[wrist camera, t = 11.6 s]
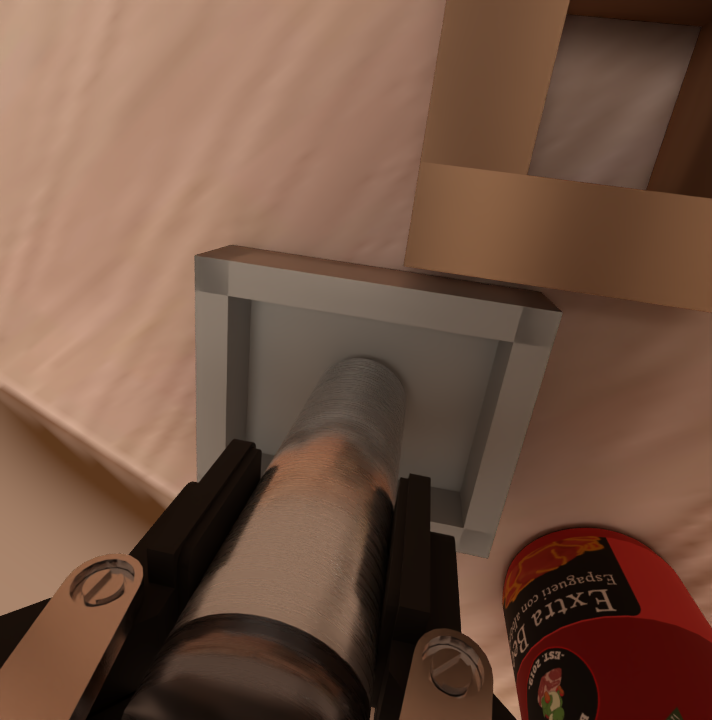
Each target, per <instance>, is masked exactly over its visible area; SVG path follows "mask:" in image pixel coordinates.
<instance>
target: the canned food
mask: <svg viewBox="0 0 712 720" xmlns="http://www.w3.org/2000/svg"><path fill="white" fill-rule="evenodd" d="M502 604H503V610H504V616H505V622H506V628H507V634H508V640H509V646H510V652H511V658H512V664H513V670H514V676H515V682H516V688H517V694H518V700H519V706H520V712H521V718H522V720H712V628H711V626H710V625H709V623H708V622H707V620H706V618H705V617H704V615H703V614H702V612H701V611H700V609H699V608H698V606H697V605H696V603H695V601H694V600H693V598H692V597H691V595H690V594H689V592H688V591H687V589H686V587H685V586H684V584H683V583H682V581H681V580H680V578H679V577H678V575H677V574H676V572H675V571H674V570H673V569H672V568H671V567H670V566H669V565H668V564H667V563H666V562H665V561H664V560H663V559H662V558H660V557H659V556H658V555H657V554H656V553H655V552H653V551H652V550H651V549H650V548H648V547H647V546H645V545H644V544H642V543H641V542H639V541H637V540H636V539H633V538H631V537H629V536H626V535H624V534H621V533H618V532H614V531H609V530H605V529H596V528H575V529H566V530H562V531H557V532H553V533H550V534H548V535H546V536H543V537H541V538H538V539H537V540H535V541H533V542H532V543H530V544H529V545H527V546H526V547H525V548H524V549H523V550H522V551H521V552H520V553H519V554H518V555H517V556H516V557H515V558H514V560H513V562H512V563H511V565H510V566H509V569H508V572H507V575H506V578H505V583H504V588H503V602H502Z"/></svg>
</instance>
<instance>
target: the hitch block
mask: <svg viewBox="0 0 712 720" xmlns="http://www.w3.org/2000/svg"><path fill="white" fill-rule="evenodd" d="M566 14H570V15H581V16H592V17H603V18H614V19H625V20H636V21H647V22H658V23H669V24H680V25H691V26H702V28H701V31H700V34H699V37H698V40H697V43H696V46H695V49H694V51H693V54H692V57H691V60H690V63H689V66H688V69H687V72H686V75H685V78H684V81H683V84H682V87H681V90H680V93H679V96H678V99H677V101H676V104H675V107H674V110H673V113H672V116H671V119H670V122H669V125H668V128H667V131H666V134H665V137H664V140H663V143H662V146H661V148H660V151H659V154H658V157H657V160H656V163H655V166H654V169H653V172H652V175H651V178H650V181H649V184H648V187H647V190H639V189H631V188H624V187H616V186H608V185H600V184H592V183H584V182H576V181H569V180H561V179H553V178H545V177H537V176H529V175H527V173H528V169H529V165H530V161H531V157H532V153H533V149H534V144H535V140H536V136H537V132H538V128H539V124H540V120H541V116H542V112H543V108H544V104H545V100H546V95H547V91H548V87H549V83H550V79H551V75H552V71H553V67H554V63H555V59H556V55H557V51H558V46H559V42H560V38H561V34H562V30H563V26H564V22H565V18H566ZM404 266H406V267H412V268H419V269H426V270H432V271H439V272H445V273H452V274H459V275H465V276H472V277H479V278H485V279H492V280H499V281H505V282H512V283H518V284H525V285H532V286H538V287H545V288H552V289H558V290H565V291H572V292H578V293H585V294H591V295H598V296H605V297H611V298H618V299H625V300H631V301H638V302H645V303H651V304H658V305H664V306H671V307H678V308H684V309H691V310H698V311H704V312H711V313H712V0H446V6H445V12H444V19H443V25H442V31H441V37H440V43H439V49H438V56H437V62H436V68H435V74H434V80H433V87H432V93H431V99H430V105H429V111H428V118H427V124H426V130H425V136H424V142H423V149H422V155H421V161H420V167H419V173H418V179H417V186H416V192H415V198H414V204H413V210H412V217H411V223H410V229H409V235H408V241H407V248H406V254H405V260H404Z"/></svg>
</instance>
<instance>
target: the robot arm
mask: <svg viewBox="0 0 712 720" xmlns="http://www.w3.org/2000/svg"><path fill="white" fill-rule="evenodd" d="M261 459H262V451H261V449H256V444H255V443H254V442H249V441H244V440H239V439H233V440H232V441H231V442H230V444H229V445H228V446H227V447H226V449H225V450H224V451H223V452H222V454H221V455H220V456H219V457H218V459H217V460H216V461H215V462H214V464H213V465H212V466H211V468H210V469H209V470H208V471H207V473H206V474H205V475H204V476H203V478H202V479H201V480H200V481H199V483H198V482H193V481H192V482H190V483H188V484H187V485H186V486H185V487H184V488H183V490H182V491H181V492H180V493H179V494H178V496H177V497H176V498H175V499H174V500H173V502H172V503H171V504H170V505H169V506H168V508H167V509H166V510H165V511H164V512H163V514H162V515H161V516H160V517H159V518H158V520H157V521H156V522H155V524H154V525H153V526H152V527H151V528H150V530H149V531H148V532H147V533H146V534H145V536H144V537H143V538H142V539H141V540H140V541H139V543H138V544H137V545H136V546H135V547H134V549H133V550H132V551H131V552H130V554H129V555H125V554H121V553H119V554H106V555H102V556H98V557H95V558H93V559H91V560H88V561H86V562H84V563H83V564H81V565H80V566H78V567H77V568H76V569H74V570H73V571H72V572H71V573H70V575H69V576H68V577H67V578H66V579H65V580H64V582H63V583H62V584H61V586H60V587H59V589H58V590H57V591H56V593H55V594H54V595H53V597H52V598H49V599H46V600H43V601H41V602H38V603H35V604H33V605H30V606H27V607H24V608H22V609H19V610H16V611H13V612H10V613H8V614H5V615H2V616H0V720H121V718H122V715H123V713H124V711H125V708H126V707H127V705H128V703H129V702H130V700H131V698H132V696H133V695H134V693H135V691H136V690H137V688H138V686H139V685H140V683H141V681H142V679H143V678H144V676H145V674H146V673H147V671H148V669H149V668H150V666H151V664H152V663H153V661H154V659H155V657H156V656H157V654H158V652H159V651H160V649H161V647H162V646H163V644H164V642H165V640H166V639H167V637H168V635H169V634H170V632H171V630H172V629H173V627H174V625H175V624H176V622H177V620H178V618H179V617H180V615H181V613H182V612H183V610H184V608H185V607H186V605H187V603H188V601H189V600H190V598H191V596H192V595H193V593H194V591H195V590H196V588H197V586H198V585H199V583H200V581H201V579H202V578H203V576H204V574H205V573H206V571H207V569H208V568H209V566H210V564H211V562H212V561H213V559H214V557H215V556H216V554H217V552H218V551H219V549H220V547H221V546H222V544H223V542H224V540H225V539H226V537H227V535H228V534H229V532H230V530H231V529H232V527H233V525H234V524H235V522H236V520H237V518H238V517H239V515H240V513H241V512H242V510H243V508H244V507H245V505H246V503H247V501H248V500H249V498H250V496H251V495H252V493H253V491H254V490H255V488H256V486H257V485H258V483H259V481H260V478H261ZM430 515H431V478H430V477H426V476H421V475H416V474H411V473H410V474H409V477H408V479H407V478H402V477H400V482H399V487H398V492H397V497H396V502H395V508H394V514H393V522H392V530H391V539H390V547H389V556H388V564H387V572H386V581H385V589H384V598H383V606H382V614H381V623H380V631H379V640H378V648H377V661H376V669H375V678H374V686H373V695H372V703H371V707H374V708H375V713H374V720H516V718H515V717H514V716H513V715H512V714H511V713H510V712H509V710H508V709H507V708H506V707H505V706H504V705H503V704H502V703H501V701H500V700H499V699H498V698H497V697H496V696H495V695H494V694H493V674H492V668H491V665H490V663H489V661H488V658H487V656H486V655H485V653H484V652H483V651H482V649H481V648H480V647H479V645H477V644H476V643H475V642H474V641H473V640H472V639H470V638H469V637H468V636H466V635H464V634H462V633H461V621H460V606H459V590H458V575H457V560H456V544H455V538H454V536H450V535H446V534H441V533H436V532H431V531H430Z"/></svg>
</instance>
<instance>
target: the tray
mask: <svg viewBox="0 0 712 720" xmlns="http://www.w3.org/2000/svg"><path fill="white" fill-rule="evenodd" d="M562 314H563V312H562V311H561V310H560V309H559V308H557V307H556V306H555V305H554V304H553V303H552V302H551V301H550V300H549V299H548V298H547V297H546V296H545V295H544V294H543V293H542V292H538V291H531V290H525V289H518V288H512V287H505V286H498V285H492V284H485V283H479V282H472V281H465V280H459V279H452V278H446V277H439V276H433V275H426V274H419V273H413V272H406V271H400V270H393V269H386V268H380V267H373V266H367V265H360V264H353V263H347V262H340V261H334V260H327V259H321V258H314V257H307V256H301V255H294V254H288V253H281V252H274V251H268V250H261V249H255V248H248V247H241V246H235V245H229V246H226V247H222V248H219V249H215V250H212V251H208V252H204V253H201V254H197V255H195V348H196V445H197V482H198V483H199V481H200V480H201V479H202V478H203V476H204V475H205V474H206V473H207V471H208V470H209V469H210V468H211V466H212V465H213V464H214V462H215V461H216V460H217V459H218V457H219V456H220V455H221V454H222V452H223V451H224V450H225V449H226V447H227V446H228V445H229V444H230V442H231V441H232V440H233V439H239V440H244V441H249V442H254V443H255V444H256V449H261V451H262V459H261V478H262V476H263V474H264V473H265V471H266V469H267V468H268V466H269V464H270V462H271V461H272V459H273V457H274V456H275V454H276V452H277V451H278V449H279V447H280V446H281V444H282V442H283V440H284V439H285V437H286V435H287V434H288V432H289V430H290V429H291V427H292V425H293V423H294V422H295V420H296V418H297V417H298V415H299V413H300V412H301V410H302V408H303V407H304V405H305V403H306V401H307V400H308V398H309V396H310V395H311V393H312V391H313V390H314V388H315V386H316V384H317V383H318V381H319V379H320V378H321V376H322V375H323V373H324V372H325V371H326V370H327V369H328V368H330V367H331V366H332V365H334V364H336V363H338V362H340V361H343V360H347V359H353V358H362V359H369V360H373V361H375V362H378V363H380V364H382V365H384V366H385V367H387V368H388V369H390V370H391V371H392V372H393V373H394V374H395V375H396V376H397V377H398V379H399V380H400V382H401V384H402V386H403V388H404V390H405V394H406V400H407V406H406V415H405V423H404V432H403V440H402V449H401V457H400V466H399V474H398V483H397V491H396V497H397V492H398V487H399V482H400V477H402V478H407V479H408V477H409V474H410V473H411V474H416V475H421V476H426V477H430V478H431V515H430V531H431V532H436V533H441V534H446V535H450V536H454V538H455V544H456V552H459V553H464V554H468V555H473V556H478V557H483V558H487V559H488V557H489V554H490V550H491V547H492V544H493V540H494V537H495V534H496V531H497V527H498V524H499V521H500V517H501V514H502V511H503V508H504V504H505V501H506V498H507V494H508V491H509V488H510V485H511V481H512V478H513V475H514V471H515V468H516V465H517V462H518V458H519V455H520V452H521V448H522V445H523V442H524V439H525V435H526V432H527V429H528V425H529V422H530V419H531V416H532V412H533V409H534V406H535V402H536V399H537V396H538V393H539V389H540V386H541V383H542V379H543V376H544V373H545V370H546V366H547V363H548V360H549V356H550V353H551V350H552V347H553V343H554V340H555V337H556V333H557V330H558V327H559V324H560V320H561V317H562ZM261 478H260V479H261ZM395 502H396V500H395Z"/></svg>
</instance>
